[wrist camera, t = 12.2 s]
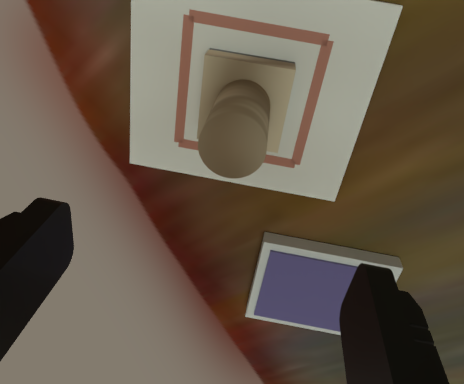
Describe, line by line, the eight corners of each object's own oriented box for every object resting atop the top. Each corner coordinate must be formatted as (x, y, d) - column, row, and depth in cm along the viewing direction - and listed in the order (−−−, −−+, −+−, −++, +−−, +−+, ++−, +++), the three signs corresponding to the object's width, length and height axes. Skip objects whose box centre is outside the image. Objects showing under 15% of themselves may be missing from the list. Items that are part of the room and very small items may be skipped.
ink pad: (399, 257, 28) (403, 270, 27) (363, 328, 33) (366, 342, 32) (264, 231, 29) (263, 243, 27) (246, 305, 33) (245, 318, 32)
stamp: (295, 62, 22) (299, 104, 15) (278, 140, 24) (275, 203, 18) (210, 47, 22) (181, 84, 16) (202, 127, 24) (174, 185, 18)
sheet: (400, 4, 20) (403, 6, 20) (333, 196, 26) (334, 201, 26) (135, -43, 20) (131, -42, 20) (132, 159, 27) (129, 163, 26)
